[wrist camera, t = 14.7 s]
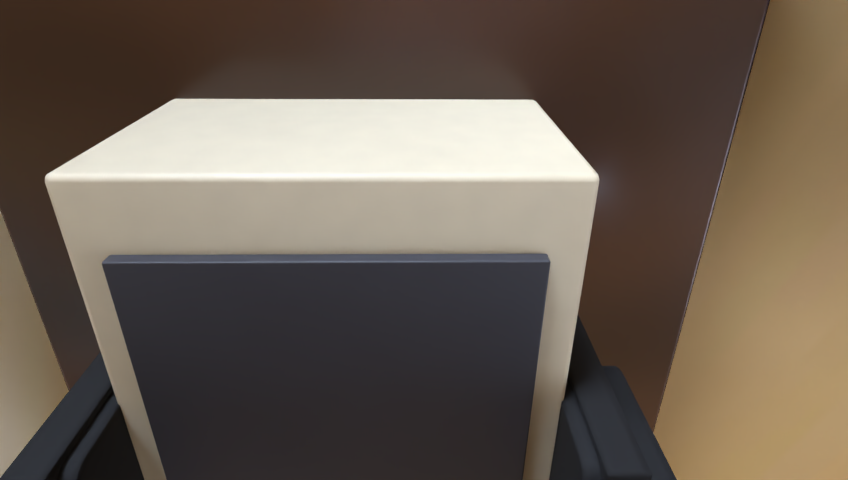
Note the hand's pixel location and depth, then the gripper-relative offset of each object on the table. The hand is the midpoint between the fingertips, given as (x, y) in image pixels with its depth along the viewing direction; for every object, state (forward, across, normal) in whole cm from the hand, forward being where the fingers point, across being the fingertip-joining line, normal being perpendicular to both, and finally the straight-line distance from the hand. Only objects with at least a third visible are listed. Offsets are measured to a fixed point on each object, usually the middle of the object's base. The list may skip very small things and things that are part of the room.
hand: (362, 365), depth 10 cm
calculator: (+1, 0, 0) cm, 1 cm away
